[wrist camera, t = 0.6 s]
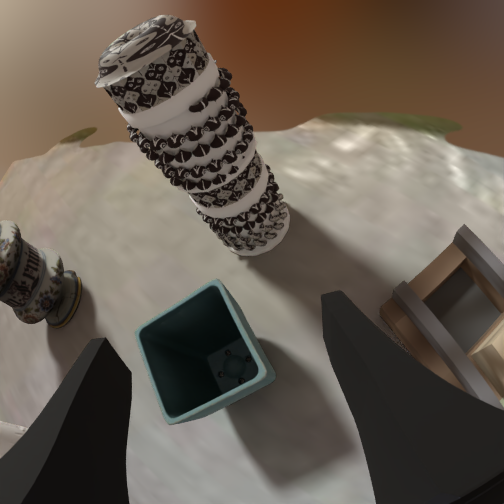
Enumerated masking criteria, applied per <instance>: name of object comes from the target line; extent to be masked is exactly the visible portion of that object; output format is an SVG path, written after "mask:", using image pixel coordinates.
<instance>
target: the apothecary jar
mask: <svg viewBox="0 0 504 504" xmlns="http://www.w3.org/2000/svg"><path fill="white" fill-rule="evenodd" d="M80 296H81V281H80V278H79V277H77V276H75V272H74V271H72V270H68V271H65V272H64V268H63V263H62V260H61V258H60V256H59V254H58V253H57V252H56V251H55V250H53V249H50V248H41V249H36V248H35V247H33V246H32V245H30V244H29V243H27V242H26V241H25V240H23V239H22V238H21V234H20V230H19V228H18V226H17V225H16V224H15V223H14V222H12V221H9V220H4V221H1V222H0V301H2V302H4V303H6V304H7V305H9V306H10V307H12V308H13V311H14V313H15V314H16V316H17V317H18V318H19V319H20V320H21V321H22V322H24V323H27V324H35V323H38V322H40V321H41V320H43V319H44V318H45V319H46V321H47V323H48V324H49V325H50V326H51V327H53V328H60V327H62V326H64V325H65V324H66V323H67V322H68V321H69V320H70V319H71V318H72V316H73V315H74V313H75V311H76V309H77V306H78V304H79V300H80Z"/></svg>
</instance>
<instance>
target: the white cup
mask: <svg viewBox="0 0 504 504" xmlns="http://www.w3.org/2000/svg"><path fill="white" fill-rule="evenodd" d="M27 430H28V428H26V427H22V426H19V425H15V424H10V423H6V422H2V421H0V458H1V457H2V456H3V455H5V454H6V453H7V452H8V451H9V450H10V449H11V448H12V446H13V445H14V444H15V443H16V442H17V441H18V440H19V439H20V438H21V437H22V436H23V435H24V433H25V432H26V431H27Z"/></svg>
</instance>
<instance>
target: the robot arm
mask: <svg viewBox="0 0 504 504" xmlns="http://www.w3.org/2000/svg"><path fill="white" fill-rule="evenodd" d="M321 302H322V321H323V338H324V342H325V345H326V348H327V352H328V355H329V358H330V362H331V365H332V367H333V370H334V372H335V374H336V377H337V379H338V382H339V384H340V386H341V389H342V391H343V393H344V396H345V398H346V401H347V403H348V405H349V408H350V410H351V412H352V415H353V417H354V420H355V423H356V425H357V428H358V431H359V435H360V438H361V442H362V446H363V449H364V453H365V457H366V461H367V465H368V469H369V473H370V477H371V481H372V486H373V490H374V495H375V500H376V504H504V410H502V409H499V408H497V407H495V406H492V405H490V404H488V403H486V402H484V401H482V400H480V399H478V398H476V397H474V396H472V395H470V394H469V393H467V392H465V391H463V390H461V389H460V388H458V387H456V386H454V385H452V384H451V383H449V382H447V381H446V380H444V379H443V378H441V377H440V376H438V375H437V374H435V373H434V372H432V371H431V370H429V369H428V368H427V367H425V366H424V365H422V364H421V363H420V362H418V361H417V360H416V359H414V358H413V357H412V356H410V355H409V354H408V353H407V352H405V351H404V350H403V349H402V348H401V347H399V346H398V345H397V344H396V343H395V342H393V341H392V340H391V339H390V338H389V337H388V336H387V335H386V334H385V333H383V332H382V331H381V330H380V329H379V328H378V327H377V326H376V325H375V324H374V323H373V322H372V321H370V320H369V319H368V318H367V317H366V316H365V315H364V314H363V313H362V312H361V311H360V310H359V309H358V308H357V307H356V306H355V305H354V303H353V302H352V301H351V300H350V299H349V298H348V297H347V296H346V295H345V294H344V293H343V292H342V291H340V290H339V291H335V292H331V293H327V294H323V295H321ZM131 401H132V372H131V371H130V370H129V369H128V367H127V366H126V365H125V363H124V362H123V361H122V359H121V358H120V357H119V355H118V354H117V353H116V351H115V350H114V348H113V347H112V346H111V344H110V343H109V341H108V340H107V339H106V337H105V338H98V339H92V340H91V341H90V342H89V343H88V345H87V346H86V347H85V349H84V350H83V352H82V353H81V355H80V356H79V357H78V359H77V360H76V362H75V363H74V365H73V366H72V368H71V369H70V371H69V372H68V374H67V375H66V377H65V378H64V380H63V382H62V383H61V385H60V386H59V388H58V389H57V391H56V392H55V393H54V395H53V396H52V398H51V399H50V401H49V402H48V403H47V405H46V406H45V408H44V409H43V411H42V412H41V413H40V415H39V416H38V417H37V419H36V420H35V421H34V422H33V424H32V425H31V426H30V427H29V429H28V430H27V431H26V432H25V433H24V435H23V436H22V437H21V438H20V439H19V440H18V441H17V442H16V443H15V444H14V445H13V446H12V448H11V449H10V450H9V451H8V452H7V453H6V454H5V455H3V456H2V457H1V458H0V504H129V497H128V488H127V476H126V448H127V438H128V428H129V419H130V410H131Z"/></svg>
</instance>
